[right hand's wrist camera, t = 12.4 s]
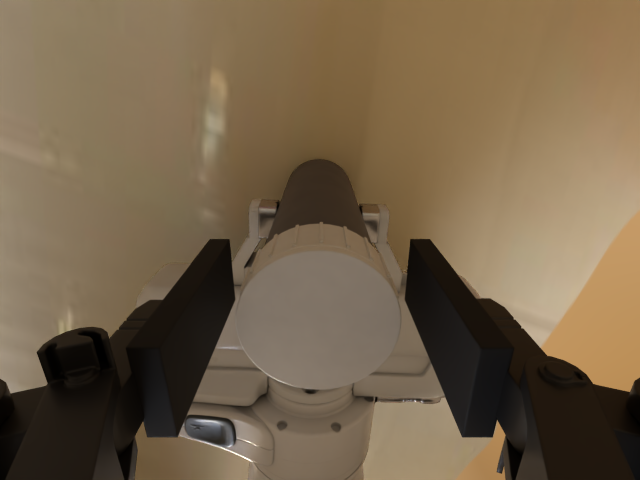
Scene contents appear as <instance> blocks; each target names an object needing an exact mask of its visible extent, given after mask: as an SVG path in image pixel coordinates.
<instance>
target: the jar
mask: <svg viewBox="0 0 640 480" xmlns="http://www.w3.org/2000/svg"><path fill="white" fill-rule="evenodd" d="M320 222H323V224H330V225H335V226H339V227H342V228H343V227H344V226H345V227H347V229H348V230H350V231H352V232H355V233H357V234H358V235H360V236H361V237H363V238H364V237H366V238H367V240H368V242H369V243H370V244H371V245H372V243H371V240H370V237H369V234H368V231H367V228H366V226H365V223H364V220H363V217H362V214H361V212H360V209H359V206H358V203H357V200H356V198H355V195H354V192H353V189H352V186H351V184H350V181H349V178H348V176H347V175H346V173H345V172H344V171H343V169H342V168H340V167H339V166H338V165H336V164H335V163H333V162H330V161H327V160H321V159H317V160H310V161H307V162H305V163H303V164H301V165H300V166H299V167H297V168H296V169H295V170H294V172H293V173H292V174H291V176H290V178H289V180H288V183H287V186H286V189H285V191H284V194H283V197H282V200H281V202H280V205H279V208H278V211H277V213H276V216H275V219H274V222H273V224H272V227H271V230H270V233H269V235H268V238H267V241H266V244H267V243H268V242H269V241H271V240H272V239H273V238H274V235H275V234H277V235H279V234H281V233H282V232H285V231H287V230H289V229H291V228H295V226H296V225H298V224H299V226H302V225H308V224H320ZM266 244H265V245H266ZM372 246H373V245H372Z"/></svg>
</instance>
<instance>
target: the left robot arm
mask: <svg viewBox="0 0 640 480" xmlns="http://www.w3.org/2000/svg"><path fill="white" fill-rule="evenodd" d="M279 205H280V204H279V200H266V199H253V200H252V201H251V203H250V206H249V234H248V235H247V237H246V239H245V240H244V242H243V244H242V245H241V247H240V249H239V250H238V252H237V254H236V256H235V258H234V260H233V261H232V270H233V280H234V290H235V302H234V304H233V307H232V309H231V312H230V314H229V316H228V319H227V321H226V323H225V326H224V328H223V331H222V333H221V335H220V338H219V340H218V342H217V345H216V347H215V350H214V352H213V354H212V357H211V359H210V362H209V364H208V366H207V369H206V371H205V373H204V376H203V378H202V381H201V383H200V385H199V388H198V390H197V392H196V395H195V397H194V400H193V402H192V404H191V407H190V409H189V412H188V414H187V416H186V419H185V421H184V423H183V426H182V428H181V431H180V433H179V435H178V436H181V437H184V438H188V439H192V440H195V441H199V442H203V443H206V444H210V445H213V446H216V447H219V448H222V449H225V450H227V451H230V452H232V453H235V454H237V455H239V456H242V457H244V458H246V459H248V460H250V465H249V470H248V480H363V466H362V464H363V462H364V460H365V458H366V455H367V451H368V446H369V439H370V432H371V425H372V417H373V410H374V403H375V402H389V403H401V402H413V401H414V402H420V403H423V404H433V403H438V402H440V399H441V398H444V397H445V395H444V393H443V390H442V388H441V385H440V383H439V381H438V378H437V376H436V373H435V371H434V369H433V366H432V364H431V362H430V359H429V357H428V354H427V352H426V350H425V347H424V345H423V342H422V340H421V338H420V335H419V333H418V331H417V328H416V326H415V323H414V321H413V319H412V316H411V314H410V312H409V309H408V307H407V304H406V302H405V290H406V280H407V272H402V271H401V269H400V267H399V265H398V263H397V261H396V258H395V256H394V254H393V252H392V250H391V248H390V246H389V244H388V242H387V233H388V225H389V210H388V208H387V207H386V205H380V204H360V205H359V209H360V212H361V214H362V217H363V220H364V223H365V226H366V228H367V231H368V234H369V237H370V240H371V243H374V244H375V246H376V248H377V250H378V252H379V253H381V254H382V256H383V258H384V261H385V264H386V266H387V269H388V271H389V272H390V274H391V277H392V279H393V282H394V284H395V287H396V289H397V292H398V294H399V299H398V301H399V305H400V310H401V329H400V334H399V337H398V340H397V343H396V345H395V347H394V349H393V351H392V353H391V354H390V355H389V357H388V358H387V359H386V361H385V362H384V363H383V364H382V365H381V366H380V367H379V368H377V369H376V370H375V371H374V372H373V373H371V374H370V375H368V376H366V377H365V378H363V379H361V380H359V381H357V382H354V383H352V384H349V385H346V386H342V387H338V388H332V389H305V388H299V387H295V386H291V385H288V384H285V383H283V382H280V381H278V380H276V379H274V378H272V377H270V376H269V375H267V374H266V373H264V372H263V371H262V370H261V369H259V368H258V367H257V366H256V365H255V364H254V363H253V362H252V361H251V360H250V358H249V357H248V356H247V354H246V353H245V351H244V349H243V347H242V345H241V343H240V341H239V338H238V334H237V329H236V309H237V304H238V301H239V298H240V295H241V294H239V290H240V288H241V285H242V283H243V281H244V278H245V276H246V273H247V271H248V268H249V267H252V264H253V262H254V259H255V257H256V254H257V252H253V251H254V250H255V248H256V246H257V245H258V243H259V241H260V240H261V238H268V235H269V233H270V230H271V227H272V224H273V222H274V219H275V216H276V213H277V211H278V208H279ZM189 266H190V263H168V264H166V265H164V266H163V267H162V268H161V269H160V270H159V271H158V272H157V273H156V274H155V275H154V276H153V277H152V278H151V279H150V280H149V281H148V282H147V283H146V285H145V286H144V287H143V289H142V290H141V292H140V293H139V295H138V298H137V301H136V308H137V307H139V306H141V305H142V304H144V303H146V302H147V301H149V300H163V299H164V298H165V296H166V295H167V294H168V293H169V291H170V290H171V289H172V287H173V286H174V285H175V284H176V282H177V281H178V280H179V278H180V277H181V276H182V275H183V273H184V272H185V271H186V269H187V268H188V267H189ZM458 276H459V277H460V278H461V280H462V281H463V282H464V284H465V285H466V286H467V287H468V289H469V290H470V291H471V293H472V294H473V295H474V296H475V298H476V299H481V298H480V296H479V295H478V293H477V292H476V291H475V289H474V288H473V287H472V286H471V285H470V284H469V283H468V282H467V281H466V280H465V279H464V278H463V277H462V276H460V275H458Z"/></svg>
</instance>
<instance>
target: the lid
mask: <svg viewBox="0 0 640 480" xmlns="http://www.w3.org/2000/svg"><path fill="white" fill-rule="evenodd" d="M239 294H241V295H240V298H239V301H238V304H237V309H236V329H237V334H238V338H239V341H240V343H241V345H242V347H243V349H244V351H245V353H246V354H247V356H248V357H249V358H250V360H251V361H252V362H253V363H254V364H255V365H256V366H257V367H258V368H259V369H261V370H262V371H263V372H264V373H266V374H267V375H269V376H270V377H272V378H274V379H276V380H278V381H280V382H283V383H285V384H288V385H291V386H295V387H299V388H305V389H332V388H338V387H342V386H346V385H349V384H352V383H354V382H357V381H359V380H361V379H363V378H365V377H366V376H368V375H370V374H371V373H373V372H374V371H375V370H376V369H377V368H379V367H380V366H381V365H382V364H383V363H384V362H385V361H386V359H387V358H388V357H389V355H390V354H391V353H392V351H393V349H394V347H395V345H396V343H397V340H398V337H399V334H400V329H401V310H400V305H399V301H398V299H399V294H398V292H397V289H396V287H395V284H394V282H393V279H392V277H391V274H390V272H389V271H388V269H387V266H386V264H385V261H384V258H383V256H382V254H381V253H379V254H378V252H377V251H376V250H375V248H374V247H373V246H372V245H371V244H370V243H369V242H368V240H367V238H366V237H364V238H363V237H361V236H360V235H358V234H357V233H355V232H352V231H350V230H348V229H347V227H345V226H344V227H343V228H342V227H339V226H335V225H330V224H323V222H320V224H308V225H302V226H299V224H298V225H296V226H295V228H291V229H289V230H287V231H285V232H282V233H281V234H279V235H277V234H275V235H274V238H273V239H272V240H271V241H269V242H268V243H267V244H266V245H265V246H264V247H263V248H262V250H261V249H259V250H258V252H257V254H256V257H255V259H254V262H253V264H252V267H249V268H248V271H247V273H246V276H245V278H244V281H243V283H242V285H241V288H240V290H239Z"/></svg>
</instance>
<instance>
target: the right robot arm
mask: <svg viewBox="0 0 640 480" xmlns="http://www.w3.org/2000/svg"><path fill="white" fill-rule="evenodd" d="M234 302H235V290H234V280H233V270H232V260H231V250H230V240H229V239H210V240H209V241H208V243H207V244H206V245H205V246H204V248H203V249H202V250H201V251H200V253H199V254H198V255H197V257H196V258H195V259H194V260H193V262H192V263H191V264H190V266H189V267H188V268H187V269H186V271H185V272H184V273H183V275H182V276H181V277H180V278H179V280H178V281H177V282H176V284H175V285H174V286H173V287H172V289H171V290H170V291H169V293H168V294H167V295H166V296H165V298H164V299H163V300H149V301H147V302H146V303H144V304H142V305H141V306H139V307H137V308H136V309H135V310H134V311H133V312H132V313H131V315H130V316H129V317H128V318H127V321H124V323H123V324H122V325H121V326H120V327H119V330H117V331H116V332H115V333H114V334H113V335H112V336H111V337H110V339H109V337H108V333H107V332H106V331H105V330H103V329H102V328H96V327H86V328H78V329H75V330H71V331H67V332H65V333H63V334H60V335H58V336H56V337H54V338H52V339H51V340H49V341H48V342H46V343H45V344H43V346H42V347H41V348H40V349H39V350H38V351H37V354H38V357H39V360H40V363H41V366H42V368H43V371H44V374H45V377H46V380H47V382H48V384H47V386H44V387H39V388H35V389H30V390H25V391H21V392H16V393H11V394H10V391H9V389H8V386H7V384H6V382H4V381H3V380H1V379H0V480H134V479H135V470H136V460H137V444H136V440H135V435H136V433H137V431H138V429H139V427H140V425H141V424H142V422H144V426H145V430H146V434H147V437H178V435H179V433H180V431H181V428H182V426H183V423H184V421H185V419H186V416H187V414H188V412H189V409H190V407H191V404H192V402H193V400H194V397H195V395H196V392H197V390H198V388H199V385H200V383H201V381H202V378H203V376H204V373H205V371H206V369H207V366H208V364H209V362H210V359H211V357H212V354H213V352H214V350H215V347H216V345H217V342H218V340H219V338H220V335H221V333H222V331H223V328H224V326H225V323H226V321H227V319H228V316H229V314H230V312H231V309H232V307H233V304H234ZM405 302H406V304H407V307H408V309H409V312H410V314H411V316H412V319H413V321H414V323H415V326H416V328H417V331H418V333H419V335H420V338H421V340H422V342H423V345H424V347H425V350H426V352H427V354H428V357H429V359H430V362H431V364H432V366H433V369H434V371H435V373H436V376H437V378H438V381H439V383H440V385H441V388H442V390H443V393H444V395H445V397H446V400H447V402H448V404H449V407H450V409H451V412H452V414H453V416H454V419H455V421H456V423H457V426H458V428H459V431H460V433H461V435H462V437H493V434H494V430H495V426H496V422H497V420H498V422H499V424H500V425H501V427H502V429H503V431H504V433H505V434H506V436H505V440H504V444H503V447H502V451H501V455H500V459H499V463H498V468H497V472H498V473H502V471H503V467H504V468H505V478H506V480H640V378H639V379H637V380H635V382H634V384H633V386H632V389H631V391H630V392H627V391H622V390H617V389H613V388H608V387H603V386H599V385H595V384H593V383H592V382H591V380H590V379H589V377H588V376H587V375H586V374H585V373H584V372H583V371H581V370H580V369H579V368H577V367H576V366H574V365H572V364H570V363H568V362H566V361H564V360H561V359H557V358H554V357H551V356H547V355H546V354H545V353H544V352H543V350H542V349H541V348H540V347H539V346H538V345H537V344H536V343H535V341H534V340H533V339H532V338H531V337H530V336H529V335H528V333H527V332H526V331H525V330H524V329H521V326H520V324H519V323H518V322H517V321H516V320H514V318H513V316H512V315H511V314H510V313H509V312H508V311H507V310H506V309H505V307H503V306H501V305H500V304H498V303H497V302H495V301H493V300H492V299H476V298H475V296H474V295H473V294H472V293H471V291H470V290H469V289H468V287H467V286H466V285H465V284H464V282H463V281H462V280H461V278H460V277H459V276H458V275H457V273H456V272H455V271H454V269H453V268H452V267H451V266H450V264H449V263H448V262H447V260H446V259H445V258H444V257H443V255H442V254H441V253H440V252H439V250H438V249H437V248H436V246H435V245H434V244H433V243H432V241H431V240H430V239H411V240H410V250H409V260H408V270H407V280H406V290H405Z"/></svg>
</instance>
